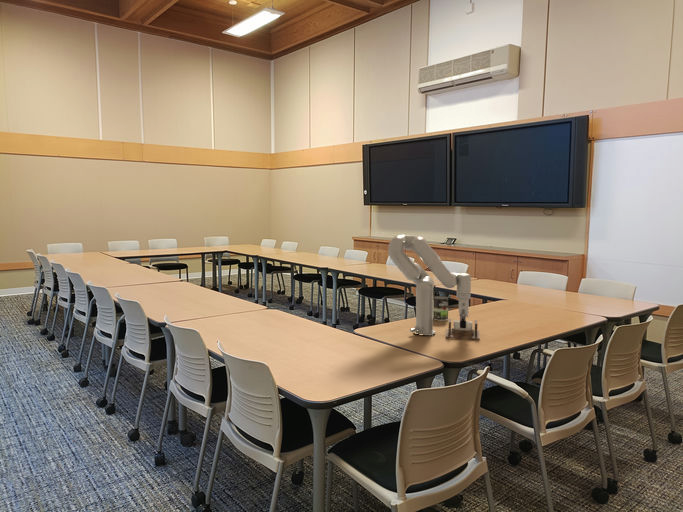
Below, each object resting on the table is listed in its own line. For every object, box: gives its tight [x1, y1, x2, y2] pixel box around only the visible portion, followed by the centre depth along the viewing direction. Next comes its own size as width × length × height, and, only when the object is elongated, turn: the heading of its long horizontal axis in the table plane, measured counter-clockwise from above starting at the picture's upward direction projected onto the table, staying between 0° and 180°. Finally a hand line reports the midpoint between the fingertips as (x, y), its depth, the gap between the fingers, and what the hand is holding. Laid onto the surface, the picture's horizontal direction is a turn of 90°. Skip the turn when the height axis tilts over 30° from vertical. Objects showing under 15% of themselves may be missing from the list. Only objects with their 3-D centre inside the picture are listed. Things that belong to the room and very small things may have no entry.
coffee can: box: [433, 295, 449, 322], centre depth 305 cm, size 10×10×14 cm
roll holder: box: [445, 318, 481, 341], centre depth 267 cm, size 18×16×8 cm
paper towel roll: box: [453, 320, 473, 331], centre depth 267 cm, size 10×6×6 cm, turn 76°
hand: (462, 325), depth 267 cm, fingers open, 9 cm apart
